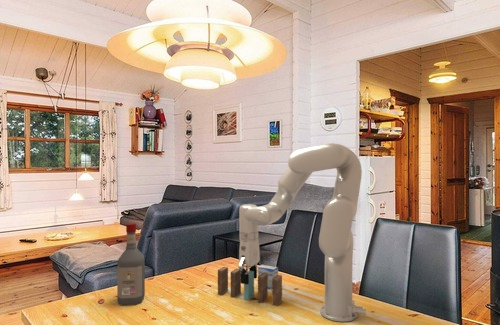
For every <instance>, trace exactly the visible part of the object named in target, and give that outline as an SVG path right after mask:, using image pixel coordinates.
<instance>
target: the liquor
mask: <svg viewBox="0 0 500 325" xmlns="http://www.w3.org/2000/svg"><path fill="white" fill-rule="evenodd" d="M125 225H126V226H125V227H126V228H125V230H126V247H125V250H124V251H123V252H122V254H121V255H120V256H119V257H118V260H117V262H116V267H117V272H116V274H117V275H116V276H117V282H116V284H117V285H116V288H117V290H116V292H117V304H118V305H120V306H122V307H123V306H137V305H139V304H141V303H143V301H144V297H145V295H146V294H145V293H146V288H145V287H146V284H145V282H146V281H145V280H146V279H145V277H146V275H145V274H146V270H145V269H146V268H145V266H146V265H145V264H146V263H145V262H146V260H145V255H144V254H143V252H142V251H140V250H139V248H138V247H137V244H136V243H137V242H136V241H137V240H136V232H137V223H135V222H130V223H126V224H125Z"/></svg>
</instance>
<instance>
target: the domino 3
mask: <svg viewBox="0 0 500 325" xmlns="http://www.w3.org/2000/svg"><path fill="white" fill-rule="evenodd" d="M248 274H249V284H248V285H247V284H243V300H244V301H250V300H251V299H253V297H255V278H254V271H249V270H248Z"/></svg>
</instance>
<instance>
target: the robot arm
mask: <svg viewBox="0 0 500 325" xmlns="http://www.w3.org/2000/svg"><path fill="white" fill-rule="evenodd" d="M287 165H288V167H287V168H286V169H285V170H284V172H283V173H282V175H281V176H280V177H279V178H278V181H277V185H278V186H277V191H276V192H275V194H274V195H273V197H272V198H271V200H270V201H269V203H267V204H263V205H261V206H257V205H256V204H251V203H250V204H249V203H247V204H242V205H240V206H239V213H238V214H239V216H238V218H239V221H238V222H239V223H238V224H239V225H238V226H239V227H238V228H239V247H238V248H239V249H238V250H239V251H238V252H239V253H238V268H237V269H240V273H241V284H243V285H244V284H247V285H248V284H249V274H248V271H254V280H255V279H258V263H259V262H260V261H261V258H260V255H261V254H260V241H259V226H264V227H266V226H269V225H271V224H273V223H275V222H277V221H279V220H280V219H281V218H282V217H283V215H284V214H285V213H286V211H287V210H288V209H289V208H290V206H291V204H292V202H293V201H294V199H295V198H296V196H297V194H298V192H299V191H300V190H301V188H302V187H304V185H305V183H306V182H307V181H308V179H309V178H310V177H311V175H312V174H313V173H315V172H320V171H321V172H322V171H325V170H327V171H328V170H333V169H336V178H335V182H334V188H333V194H332V198H330V199H329V200H328V201H327V202H326V204H325V206H324V209H323V212H322V218H321V224H320V230H319V234H318V246H319V249H320V251H321V252H322V254H324V305H322V306H321V307H320V310H319V311H320V315H321V316H322V317H324V318H325V319H328V320H330V321H333V322H340V323H341V322H342V323H344V322H352V321H354V320H356V319H357V318H358V315H363V316H366V312H367V311H366V308H364V306H361V305H357V304H355V300H353V261H354V260H353V257H354V254H353V253H354V235H353V232H352V231H351V229H352V223H353V219H354V218H355V217H356V215H357V212H358V201H359V196H360V189H361V184H362V174H363V173H362V171H363V170H362V165H361V161H360V159H359V157H358V155H357V154H356V153H355V152H354V151H353V150H351V149H350V148H349V147H347V146H345V145H343V144H341V143H340V144H339V143H334V142H333V143H331V142H330V143H325V144H321V145H316V146H310V147H306V148H299V149H297V150H294V151H292V153H291V154H290V155H289V158H288V160H287Z"/></svg>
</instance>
